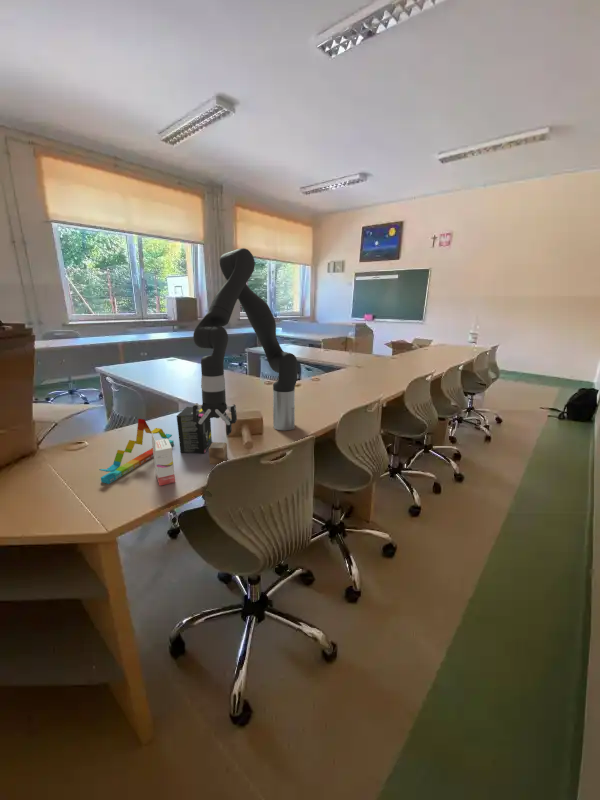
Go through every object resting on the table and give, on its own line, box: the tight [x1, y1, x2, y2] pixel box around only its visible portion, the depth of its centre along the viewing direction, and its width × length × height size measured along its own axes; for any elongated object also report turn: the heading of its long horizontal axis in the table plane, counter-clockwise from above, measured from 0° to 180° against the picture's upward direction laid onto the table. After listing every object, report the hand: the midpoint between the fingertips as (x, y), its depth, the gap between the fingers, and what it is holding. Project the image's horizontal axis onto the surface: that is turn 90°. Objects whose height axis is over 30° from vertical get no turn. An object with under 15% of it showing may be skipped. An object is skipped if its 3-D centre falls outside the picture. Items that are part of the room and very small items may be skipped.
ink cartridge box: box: [151, 433, 176, 487], centre depth 105 cm, size 9×5×15 cm, turn 29°
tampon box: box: [176, 406, 213, 454], centre depth 127 cm, size 11×9×15 cm
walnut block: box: [208, 441, 228, 466], centre depth 118 cm, size 5×5×6 cm
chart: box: [99, 418, 175, 485], centre depth 116 cm, size 30×3×15 cm, turn 162°
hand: (215, 433), depth 116 cm, fingers open, 8 cm apart
